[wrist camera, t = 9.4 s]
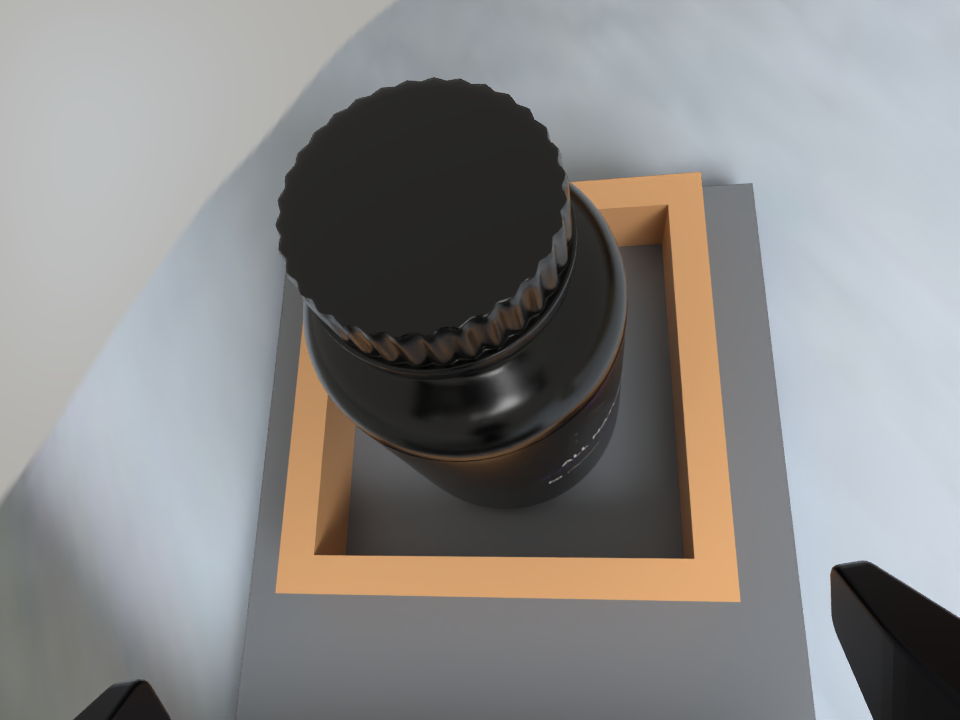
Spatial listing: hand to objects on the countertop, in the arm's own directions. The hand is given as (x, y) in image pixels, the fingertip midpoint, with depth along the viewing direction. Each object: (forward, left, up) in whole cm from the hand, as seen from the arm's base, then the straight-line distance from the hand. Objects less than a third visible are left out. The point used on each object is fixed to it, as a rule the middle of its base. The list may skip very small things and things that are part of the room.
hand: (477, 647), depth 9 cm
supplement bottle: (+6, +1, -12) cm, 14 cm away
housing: (+4, +1, -13) cm, 13 cm away
